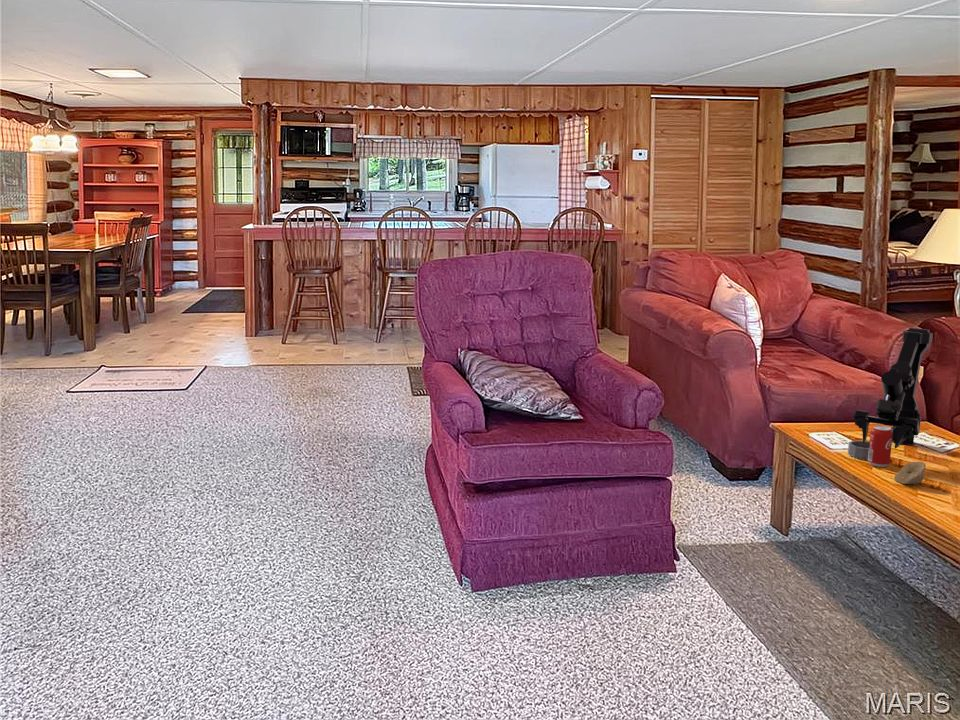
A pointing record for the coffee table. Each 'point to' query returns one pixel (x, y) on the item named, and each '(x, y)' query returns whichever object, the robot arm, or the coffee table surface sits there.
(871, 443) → the beverage can
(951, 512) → the coffee table surface
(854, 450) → the can holder
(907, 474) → the fossil
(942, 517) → the coffee table surface
